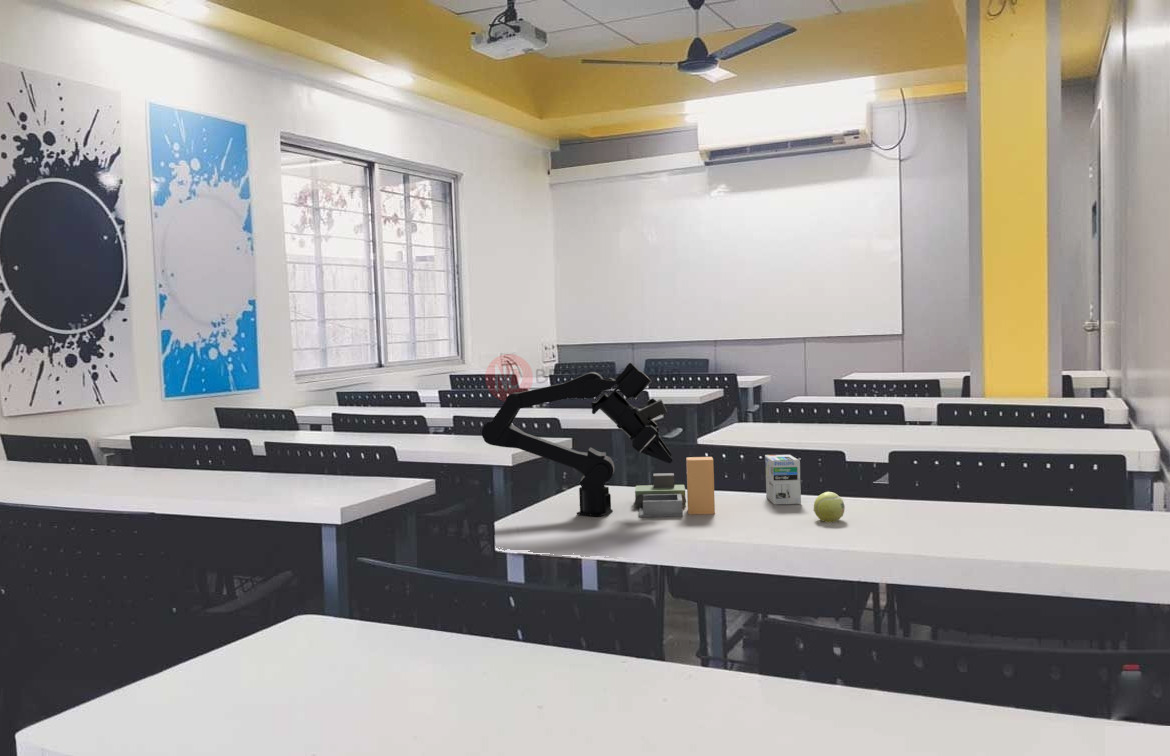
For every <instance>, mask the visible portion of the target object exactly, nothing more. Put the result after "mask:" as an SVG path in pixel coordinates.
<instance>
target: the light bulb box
mask: <svg viewBox="0 0 1170 756" xmlns="http://www.w3.org/2000/svg"><path fill="white" fill-rule="evenodd" d="M764 460H765V461H764V462H765V489H766V490H765V491H766V495H765V496H766V498H767V499H768V500H769V501H770V502H771V503H772V504H773V505H801V504H802V492H801V489H802V488H801V487H802V486H801V460H800V459H798V458H796V457H794V456H793V455H791V454H765V455H764Z"/></svg>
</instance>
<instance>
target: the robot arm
mask: <svg viewBox="0 0 1170 756" xmlns="http://www.w3.org/2000/svg"><path fill="white" fill-rule="evenodd" d="M602 376H603V375H601V374H599V373H598V372H595V371H590V372H588V373H585V374H583V375H580V376H576V377H575V378H573V379H571V380H568V381H566V382H563V383H558V384H553V385H548V386H543V387H539V388H534V389H530V390H525V391H521V392H516V391H515V392H513V393H510V394H508V395H507V397H506V398H505V401H504V402H503V404H502V406H501V407H500V408H499V410H497V413H495V416H494V417H493V419H492V420H489V421H488V422H486V423H485V424H484V425H483V427H482V429H481V437H482V438H483V441H484V442H485V443H486V444H487V445H491V446H495V447H500V448H510V449H511V448H512V449H518V450H521V451H523V452H527V453H530V454H533V455H536V456H539V457H541V458H543V459H547V460H550V461H553V462H554V463H555V462H556V463H558V464H561V465H563V466H566V467H568V468H569V467H570V468H573V469H574V470H575V471H577V472H579V473H580V474H581V475H582V476H581V479H580V482H579V485H580V487H579V488H578V490H579V491H578V492H579V493H578V497H579V511H577V512H576V515H579V516H590V517H602V516H604V515H605V516H606V515H608V514H609V513H613V511H614V510H613V509H612V502H611V501H612V496H611V493H610V491H609V489H610V488H609V486H605V484H606V483H607V482H609V481H610V480H611V478H612V477H613V475H614V473H615V463H614V461H613V459H612V458H611V457H610V456H608V455H607V452H606V451H605V452H604V451H602V452H601V451H599V450H596V449H595V448H593V447H589V448H588V451H587V452H583V451H578V450H575V449H573V448H569V447H566V446H563V445H561V444H558V443H555V442H552V441H550V440H547V439H544V438H541V437H538V436H535V435H533V434H530V433H527V432H524V431H523V430H521V428H519V427H517V426H516V425H514V424H512V423H513V422H514V421H515V419H516V417H517V415H518V413H519V412H520V409H523V408H528V407H532V406H538V405H542V404H547V403H550V402H556V401H561V400H565V399H594V398H597V397H599V396H600V395H601V394H602V392H603V394H602V395H601V396H600V397H599V398H598V400H596V401H591V402H590V405H591V408H592V409H591V414H592V415H595V414H596V413H597V412H598V411H599V410H600V411H602V413H604V415H605V416H607V418H609V419H610V420H611V422H613V423H614V424H615V425H616V427H617V428H618V429H619V430H622V432H624V433H625V434H626V436H628V437H629V439H630V440H631V442H632V445H631V446H632V448H633V449H634V450H636V451H637V452H639V453H640V454H644V455H646V456H649V457H650V458H651V457H652V458H655V459H656V460H660V461H663V462H665V463H667V464H672V462H673V461H674V460H673V458H672V456H673V454H672V452H671V451H670V450H669V448H668V447H667V445H666V444H665V442H664V441H663V440H662V438H661V437H660V428H659V426H658V423H656V422H655V421H654V420H653V419H655V418H657V417H659V416H663V415H665V414H667V413H668V410H667V408H666V405H665V404H664V402H663V400H662V399H658V400H656V399H655V398H654V397H652V398H651V399H649V400H647V405H646V406H644V407H642V408H641V409H639V408H638V407H637V406H633V405H632V404H630V402H629V401H627V400H626V399H629V400H630V399H632V398H634V399H637V398H638V397H639V396H640V395H641V394H642V393H643V391H645V390H646V389H647V387H649V386H650V384H651V383H652V382H653V381H652V380H651V378H650V377H648V376H647V374H646V373H644V372H643V371H642V370H640V369H639V368H638V367H636V366H635V365H634V364H633V363H632V362H629V363H628V364H626V366H625V367H624V370H623V371H622V372H620V374H619V375H617V377H616V378H613V377H602ZM614 386H616V387H615V388H614V389H613V387H614ZM611 389H613V391H612V392H611V393H609V395H608V394H606V393H605V392H604V391H608V390H611ZM618 391H619V392H620V393H621V394H623V395H624V396H625V397H626V398H625V397H623V395H621V394H620V393H619V392H618Z"/></svg>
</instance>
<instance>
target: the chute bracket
mask: <svg viewBox="0 0 1170 756" xmlns="http://www.w3.org/2000/svg"><path fill="white" fill-rule="evenodd" d="M683 508H684V507H683V505H682V496H681V494H647V495H643V507H639V508H638V509H639V510H638V511H639V512H638V518H674V517H675V518H677V517H684V514H683V513H684V510H683Z"/></svg>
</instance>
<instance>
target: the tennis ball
mask: <svg viewBox="0 0 1170 756" xmlns="http://www.w3.org/2000/svg"><path fill="white" fill-rule="evenodd" d="M845 509H846V507H845V504H844V500H843V499H842V497H841V496H839V495H838V494H837V493H835V492H832V491H825V492H823V493H821V494H819V495H818V496H817V497H816V499H815V500H814V503H813V512H814V514H815V515H816V517H817V518H818V519H819V520H821V521H822V522H825V523H835V522H839V520H840V519H841V518H842V517H844V514H845Z"/></svg>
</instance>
